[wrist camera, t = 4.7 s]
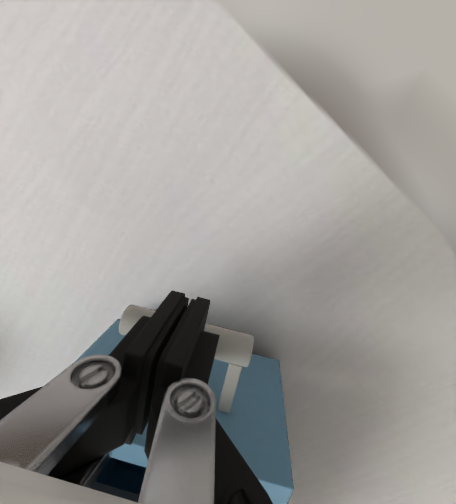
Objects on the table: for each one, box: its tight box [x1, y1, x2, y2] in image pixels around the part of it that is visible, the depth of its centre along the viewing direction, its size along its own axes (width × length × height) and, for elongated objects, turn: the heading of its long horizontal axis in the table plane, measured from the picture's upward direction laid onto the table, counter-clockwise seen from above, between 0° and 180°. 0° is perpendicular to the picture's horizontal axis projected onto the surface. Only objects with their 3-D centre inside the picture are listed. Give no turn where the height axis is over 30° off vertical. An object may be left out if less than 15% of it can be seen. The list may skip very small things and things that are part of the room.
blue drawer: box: [74, 305, 294, 504], centre depth 15 cm, size 18×11×7 cm, turn 168°
